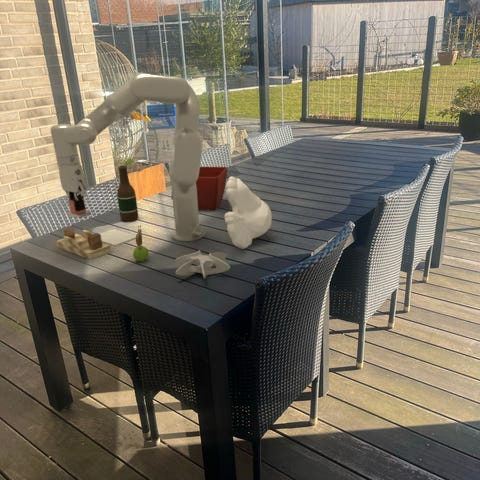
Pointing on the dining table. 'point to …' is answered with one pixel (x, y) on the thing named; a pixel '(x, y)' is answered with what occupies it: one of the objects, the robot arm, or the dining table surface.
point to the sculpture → (201, 264)
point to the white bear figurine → (245, 214)
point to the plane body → (83, 244)
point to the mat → (116, 237)
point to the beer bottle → (126, 197)
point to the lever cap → (74, 212)
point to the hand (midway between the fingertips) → (78, 208)
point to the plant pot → (210, 187)
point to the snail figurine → (140, 248)
